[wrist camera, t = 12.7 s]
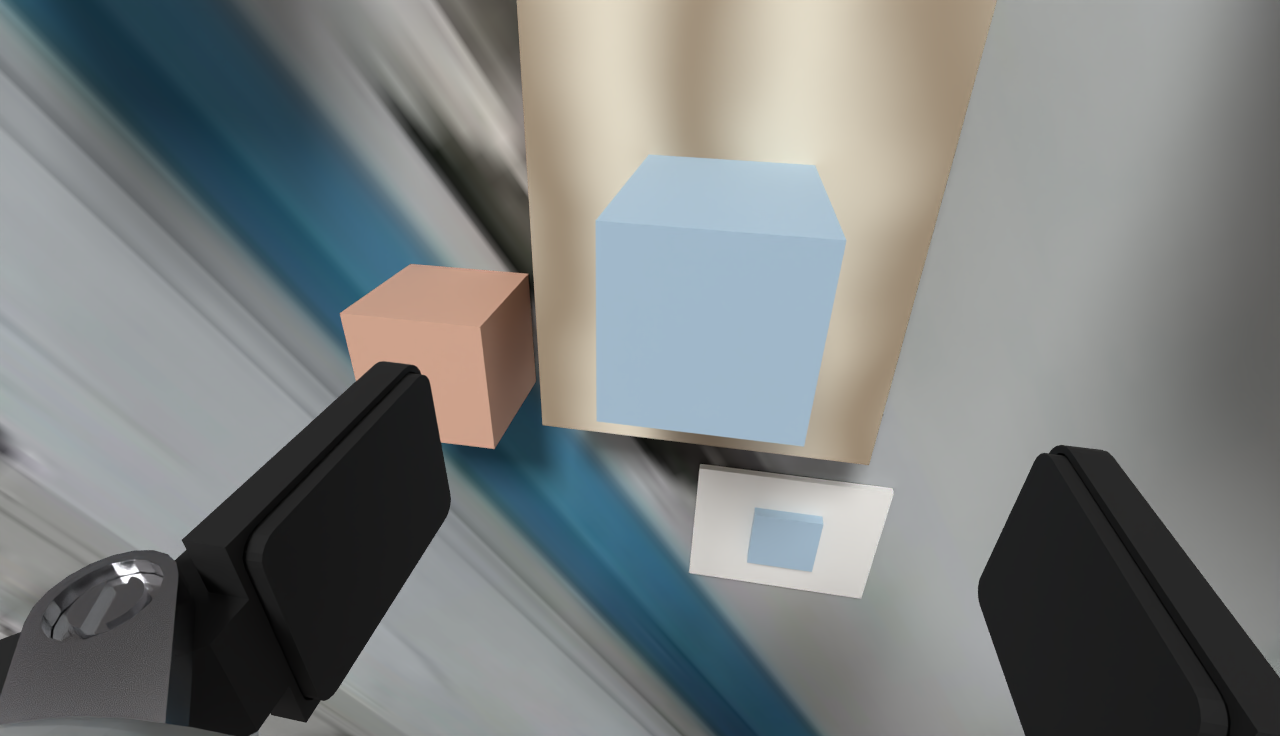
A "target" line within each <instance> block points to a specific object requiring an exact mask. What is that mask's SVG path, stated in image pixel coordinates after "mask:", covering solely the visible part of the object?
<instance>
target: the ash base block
mask: <svg viewBox="0 0 1280 736" xmlns="http://www.w3.org/2000/svg"><path fill="white" fill-rule="evenodd" d="M996 2H997V0H517V12H518V28H519V45H520V61H521V78H522V94H523V111H524V127H525V144H526V160H527V176H528V193H529V209H530V226H531V242H532V259H533V275H534V292H535V308H536V324H537V341H538V357H539V374H540V390H541V407H542V423H543V425H546V426H554V427H563V428H571V429H579V430H587V431H595V432H603V433H611V434H620V435H628V436H636V437H644V438H652V439H660V440H669V441H677V442H685V443H693V444H701V445H709V446H717V447H726V448H734V449H742V450H750V451H758V452H766V453H774V454H783V455H791V456H799V457H807V458H815V459H823V460H832V461H840V462H848V463H856V464H864V465H869V463H870V459H871V456H872V452H873V448H874V445H875V441H876V437H877V434H878V430H879V427H880V423H881V419H882V416H883V412H884V408H885V405H886V401H887V398H888V394H889V390H890V387H891V383H892V379H893V376H894V372H895V369H896V365H897V361H898V358H899V354H900V350H901V347H902V343H903V339H904V336H905V332H906V329H907V325H908V321H909V318H910V314H911V310H912V307H913V303H914V300H915V296H916V292H917V289H918V285H919V281H920V278H921V274H922V271H923V267H924V263H925V260H926V256H927V252H928V249H929V245H930V241H931V238H932V234H933V231H934V227H935V223H936V220H937V216H938V212H939V209H940V205H941V202H942V198H943V194H944V191H945V187H946V183H947V180H948V176H949V173H950V169H951V165H952V162H953V158H954V154H955V151H956V147H957V144H958V140H959V136H960V133H961V129H962V125H963V122H964V118H965V114H966V111H967V107H968V104H969V100H970V96H971V93H972V89H973V85H974V82H975V78H976V75H977V71H978V67H979V64H980V60H981V56H982V53H983V49H984V46H985V42H986V38H987V35H988V31H989V27H990V24H991V20H992V17H993V13H994V9H995V6H996ZM648 155H664V156H680V157H695V158H711V159H726V160H742V161H757V162H773V163H788V164H804V165H815V166H816V169H817V171H818V173H819V176H820V178H821V181H822V183H823V185H824V188H825V190H826V193H827V195H828V197H829V200H830V202H831V205H832V207H833V209H834V212H835V214H836V217H837V219H838V221H839V224H840V226H841V229H842V231H843V233H844V236H845V238H846V245H845V250H844V255H843V260H842V265H841V270H840V274H839V279H838V284H837V289H836V294H835V299H834V303H833V308H832V313H831V318H830V323H829V328H828V333H827V337H826V342H825V347H824V352H823V357H822V362H821V367H820V371H819V376H818V381H817V386H816V391H815V396H814V401H813V405H812V410H811V415H810V420H809V425H808V430H807V434H806V439H805V444H804V447H803V446H795V445H787V444H779V443H770V442H762V441H754V440H746V439H738V438H729V437H721V436H713V435H705V434H696V433H688V432H680V431H672V430H664V429H655V428H647V427H639V426H631V425H622V424H614V423H606V422H598V421H597V407H596V219H597V218H598V217H599V216H600V214H601V213H602V212H603V211H604V209H605V208H606V207H607V206H608V205H609V203H610V202H611V201H612V200H613V198H614V197H615V196H616V195H617V193H618V192H619V191H620V190H621V188H622V187H623V186H624V185H625V183H626V182H627V181H628V180H629V178H630V177H631V176H632V175H633V174H634V172H635V171H636V170H637V169H638V167H639V166H640V165H641V164H642V162H643V161H644V160H645V159H646V157H647V156H648Z"/></svg>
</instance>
